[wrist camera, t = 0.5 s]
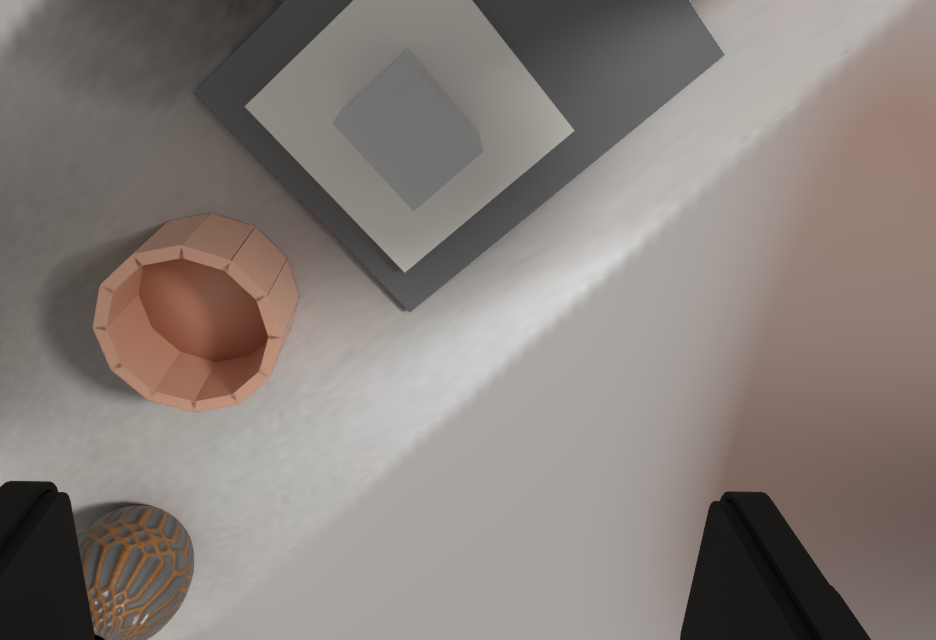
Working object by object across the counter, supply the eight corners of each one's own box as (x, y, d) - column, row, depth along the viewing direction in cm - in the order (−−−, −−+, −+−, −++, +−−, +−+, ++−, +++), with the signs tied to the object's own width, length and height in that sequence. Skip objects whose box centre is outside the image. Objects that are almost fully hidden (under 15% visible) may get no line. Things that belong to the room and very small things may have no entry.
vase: (86, 564, 47) (15, 683, 39) (96, 475, 45) (22, 584, 37) (198, 585, 48) (151, 705, 40) (214, 499, 46) (167, 610, 38)
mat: (524, -240, 31) (525, -242, 31) (721, 54, 36) (724, 54, 36) (196, 91, 36) (193, 92, 36) (409, 309, 41) (409, 312, 41)
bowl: (209, 181, 38) (178, 210, 33) (329, 298, 40) (315, 339, 36) (100, 285, 40) (57, 325, 35) (222, 390, 43) (196, 439, 38)
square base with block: (420, -65, 33) (418, -71, 29) (572, 128, 37) (592, 150, 32) (247, 104, 36) (219, 123, 31) (405, 268, 40) (401, 307, 35)
